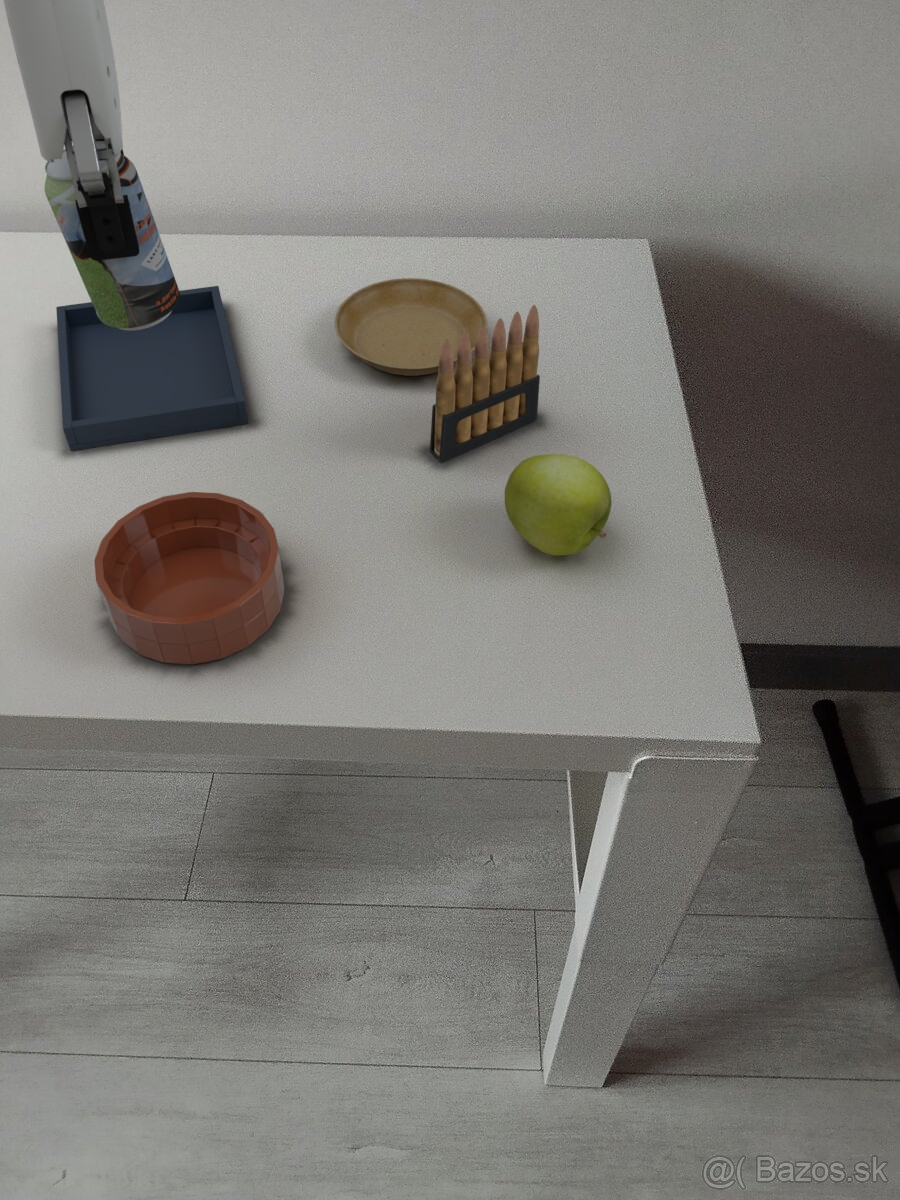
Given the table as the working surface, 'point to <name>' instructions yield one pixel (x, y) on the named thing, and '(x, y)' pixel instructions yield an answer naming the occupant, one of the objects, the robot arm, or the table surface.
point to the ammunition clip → (486, 388)
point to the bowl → (190, 577)
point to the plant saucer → (407, 324)
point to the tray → (148, 374)
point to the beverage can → (121, 285)
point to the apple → (558, 503)
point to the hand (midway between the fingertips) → (112, 227)
